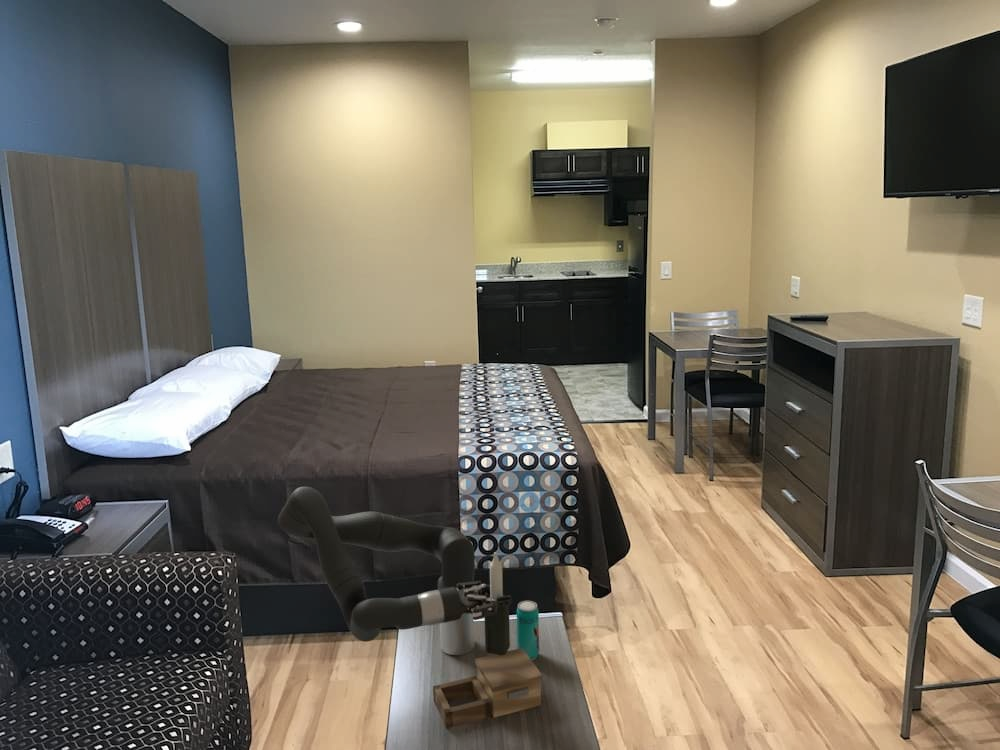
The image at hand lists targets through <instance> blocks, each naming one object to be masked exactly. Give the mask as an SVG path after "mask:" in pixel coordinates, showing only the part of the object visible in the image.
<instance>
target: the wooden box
mask: <svg viewBox="0 0 1000 750" xmlns="http://www.w3.org/2000/svg"><path fill="white" fill-rule="evenodd" d="M474 662H475V666H476V672H477V673H476V675H474V676H470V677H466V678H463V679H462V678H461V679H458V680H453V681H449V682H445V683H442V684H441V683H440V684H438V685H437V684H436V685H433V686H432V692H433V702H434V705H435V707H436V708H437V710H438V713H439V715H440V717H441V720H442V722H443V724H444V726H445V728H446V729H450V728H454V727H458V726H462V725H466V724H468V723H473V722H477V721H481V720H484V719H488V718H491V717H492V716H493V718H498V717H502V716H506V715H508V714H509V715H510V714H513V713H517V712H520V711H525V710H528V709H531V708H536V707H541V705H542V696H541V695H542V692H541V691H542V687H541V686H542V683H541V682H542V681H543V675H542V673H541V671H540V670H539V669H538V668H537V666H536V664H535V663H534V661H532V660H531V659H530V658H529V656H528V655H527V654H526V652H525V651H524V649H523V648H519V649H517V648H515V649H512V650H511V649H510V650H508V651H507V652H506V654H505V655H498V654H490V655H486V656H481V657H477V658H475V659H474ZM470 696H472V697H473V698H474V700H475V701H471V702H468V703H464V704H459V705H456V706H450V704H449V703H448V702H450V701H455V700H459V699H463V698H466V697H470Z"/></svg>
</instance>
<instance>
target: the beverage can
mask: <svg viewBox="0 0 1000 750" xmlns="http://www.w3.org/2000/svg"><path fill="white" fill-rule="evenodd" d="M539 612H540V611H539V608H538V604H537V602H535V601H532V600H523V601H520V602H519V603H518V604H517V608H516V639H517V641H516V642H517V643H516V644H517V647H516V649H519V648H523V649H524V651H525V652H526V654H527V655H528V656H529V658H530V659H531V660H532V662H534V661H536V659H537V658H538V655H539V653H540V628H539V627H540V625H539V623H540V622H539V621H540V620H539V617H540V614H539Z"/></svg>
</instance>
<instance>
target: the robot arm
mask: <svg viewBox="0 0 1000 750" xmlns="http://www.w3.org/2000/svg"><path fill="white" fill-rule="evenodd" d="M277 517H278V518H277V523H278V524H277V525H278V526H279V527H280V529H281V530H282V531H283V532H284V533H286V534H288V535H289V536H292V537H296V538H301V539H306V540H307V539H308V540H314V541H315V543H316V544H315V545H316V548H317V554H318V560H319V564H320V570H321V573H322V576H323V578H324V581H325V583H326V584H327V586H328V589H329V590H330V591H331V594H332V595H333V596H334V598H335V600H336V601H337V603H338V606H339V608H340V611H341V613H342V615H343V619H344V622H345V623H346V625H347V628H348V629H349V632H350V633H351V635H352V636H353V637H354V638H356V639H357V640H358V641H360V642H365V643H366V642H371V641H374V640H375V639H376V638H377V637H378V636H379V635H380V633H381V630H382V628H388V627H390V628H391V627H395V628H396V629H398V630H403V631H405V630H409V629H416V628H420V627H424V626H425V627H426V626H428V627H429V626H435V625H439V636H440V638H439V639H440V649H441V651H442V652H443V653H445V654H446V655H452V656H462V655H465V654H468V653H470V652H472V651H473V649H474V648H475V632H474V631H475V626H474V621H477V620H481V619H483V618H484V619H485V617H488V616H491V615H495V614H497V608H499V607H503V606H508V605H509V606H512V603H513V598H512V596H511V595H510V594H508V595H505V596H502V597H497V598H487V596H488V595H490V583H489V584H486V583H482V581H481V580H475V573H476V572H475V571H476V569H475V567H476V566H475V564H476V563H475V561H476V557H475V554H476V553H475V548H474V545H473V542H472V541H471V540H470V539H469V538H468V537H467V536H466V535H465V534H464V533H463V532H462V531H460V530H459V529H457V528H454V527H451V526H443V525H442V526H441V525H431V524H424V523H420V522H416V521H414V520H410V519H407V518H402V517H400V516H399V517H398V516H396V515H391V514H388V513H383V512H379V511H362V512H356V513H351V514H345V515H337V516H336V515H335V516H334V515H332V514H331V512H330V508H329V506H328V503H327V502H326V500H325V498H324V496H323V495H322V494H321V492H320V491H318V490H317V489H315V488H313V487H310V486H300V487H297V488H295V490H294V491H292V493H291V494H290V495H289V496H288V498H287V500H286V502H285V504H284V505H283V507H282V508H281V511H280V512H279V514H278V516H277ZM343 544H347V545H352V546H357V547H363V548H366V549H370V550H375V551H380V552H381V551H382V552H387V553H395V552H396V553H397V552H404V551H418V552H422V553H424V554H428V555H431V556H434V557H435V558H437V559H438V560H439V561H440V562H441V576H439V577H438V580H437V589H434V590H429V591H424V592H421V593H418V594H414V595H413V594H412V595H408V596H403V597H400V598H399V597H398V598H396V597H373V598H368V596H367V594H366V588H365V585H364V582H363V579H362V578H361V576H360V575H359V573H358V571H357V569H356V568H355V566H354V565H353V562H352V561H351V559H350V557H349V555H348V553H347V552H346V550H345V547H344V545H343ZM474 580H475V581H474ZM486 595H487V596H486ZM487 602H492V603H489V604H487ZM488 610H492V611H488Z"/></svg>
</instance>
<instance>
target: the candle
mask: <svg viewBox="0 0 1000 750" xmlns="http://www.w3.org/2000/svg"><path fill="white" fill-rule="evenodd" d="M489 584H490V594H489V595H488V594H487V596H486V597H487V598H497V597H502V596H506V594H504V592H503V564H502V563H501V562H500V559H499V557H498V552H497V551H495V552H493V559H492V561H491V563H490V564H489ZM489 603H492V602H487V604H489ZM488 611H492V610H488ZM510 633H511V632H510V605H508V606H503V607H499V608H497V614H495V615H491V616H488V617H485V618H484V646H485V647H484V650H485V653H487V654H492V655H494V654H498V655H505V654H506V652H507V651H509V649H510V646H511V642H510V641H511V639H510V638H511V637H510Z"/></svg>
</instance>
